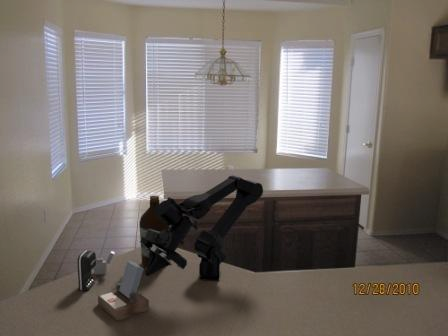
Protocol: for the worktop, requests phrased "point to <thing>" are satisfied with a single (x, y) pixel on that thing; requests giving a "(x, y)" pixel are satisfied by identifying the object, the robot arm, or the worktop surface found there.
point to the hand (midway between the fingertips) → (146, 275)
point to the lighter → (103, 264)
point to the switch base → (133, 304)
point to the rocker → (131, 279)
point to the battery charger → (86, 269)
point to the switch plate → (113, 300)
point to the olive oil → (150, 226)
